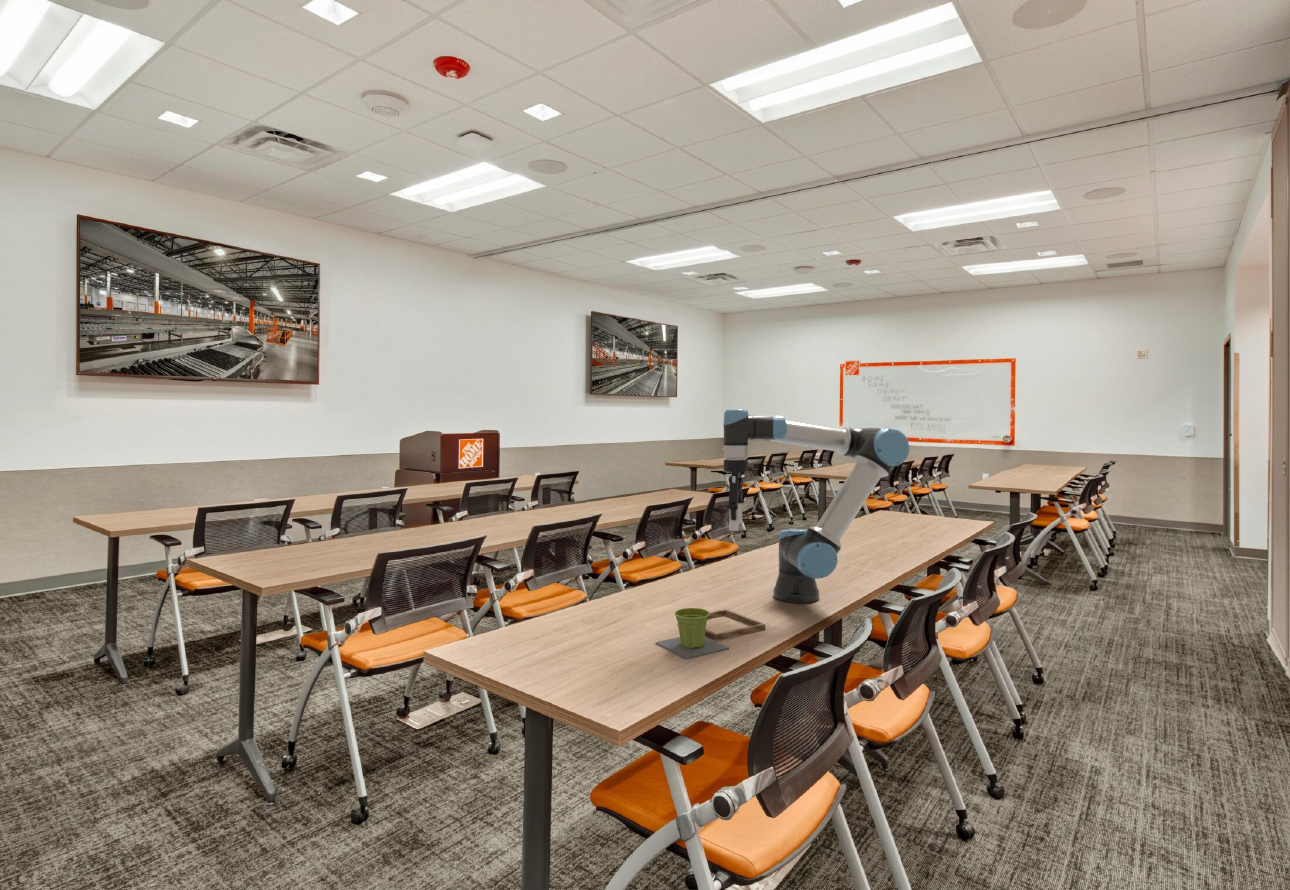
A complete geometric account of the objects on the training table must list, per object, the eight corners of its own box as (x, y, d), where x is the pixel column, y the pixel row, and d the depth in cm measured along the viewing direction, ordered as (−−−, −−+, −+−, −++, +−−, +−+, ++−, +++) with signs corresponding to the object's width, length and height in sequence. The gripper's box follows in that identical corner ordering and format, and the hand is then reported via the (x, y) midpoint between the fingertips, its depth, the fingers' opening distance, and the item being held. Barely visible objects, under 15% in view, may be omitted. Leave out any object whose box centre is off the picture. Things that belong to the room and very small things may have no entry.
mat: (697, 634, 183) (697, 632, 183) (729, 649, 171) (729, 647, 171) (655, 643, 175) (655, 642, 175) (685, 659, 163) (685, 658, 163)
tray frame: (725, 613, 202) (725, 608, 202) (765, 629, 187) (765, 624, 187) (678, 623, 193) (678, 618, 192) (715, 640, 177) (715, 635, 177)
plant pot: (668, 647, 171) (668, 614, 171) (683, 636, 179) (683, 605, 179) (701, 653, 167) (701, 619, 166) (715, 642, 175) (715, 610, 175)
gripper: (727, 456, 215) (727, 520, 216) (719, 461, 191) (719, 533, 192) (750, 456, 214) (750, 521, 214) (744, 461, 189) (744, 534, 190)
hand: (735, 527), depth 203 cm, fingers open, 13 cm apart
